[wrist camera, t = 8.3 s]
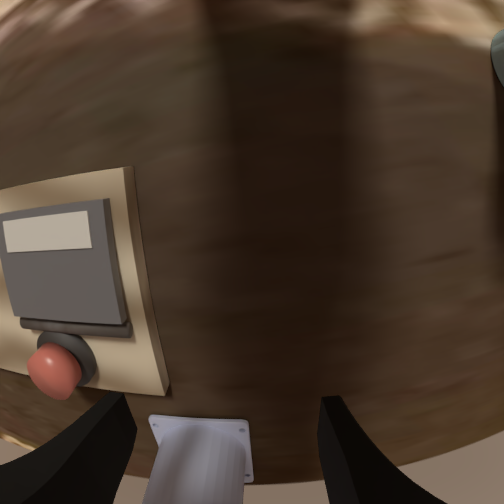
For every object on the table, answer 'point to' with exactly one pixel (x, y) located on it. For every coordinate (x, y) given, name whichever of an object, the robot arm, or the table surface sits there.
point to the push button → (54, 370)
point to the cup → (498, 55)
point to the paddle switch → (62, 263)
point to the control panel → (132, 285)
